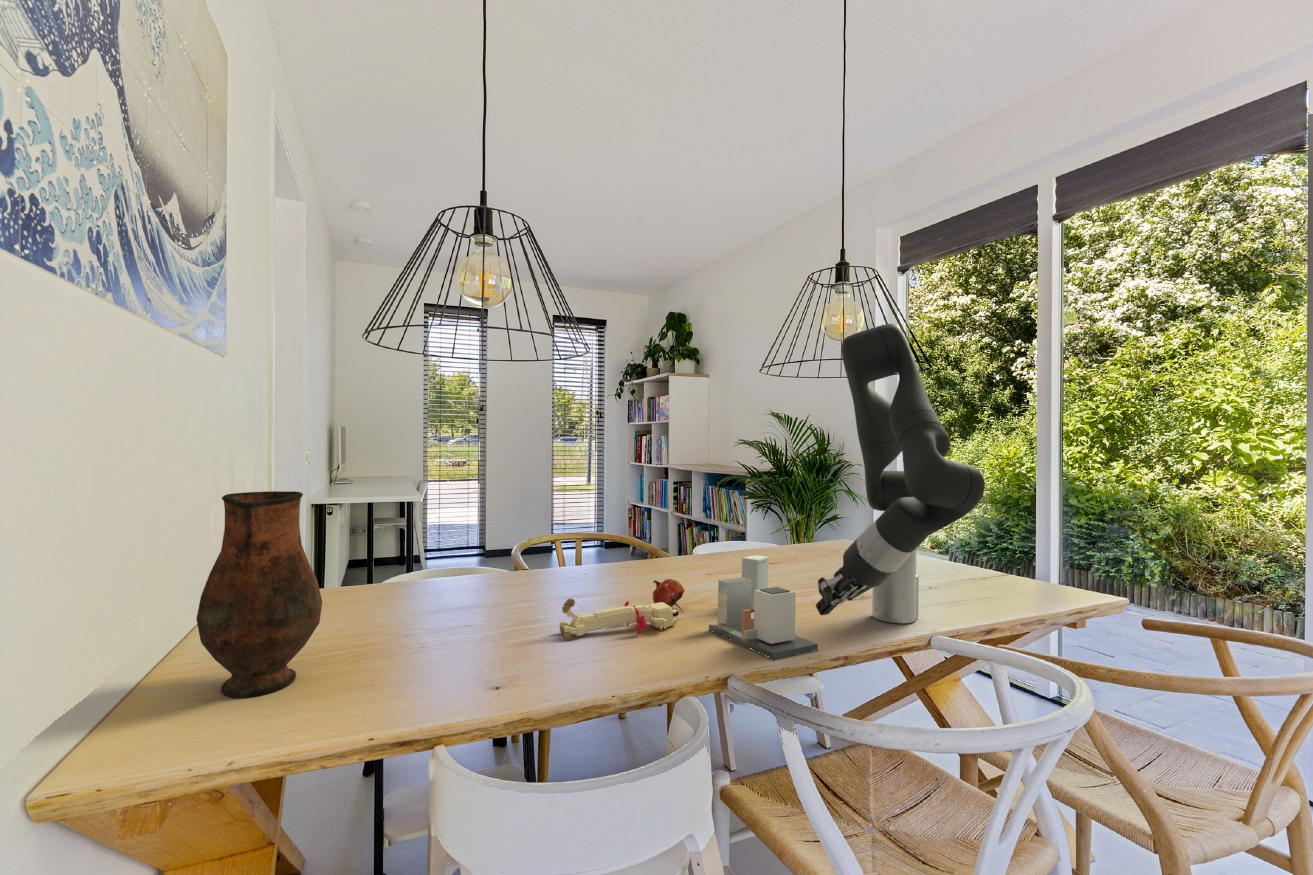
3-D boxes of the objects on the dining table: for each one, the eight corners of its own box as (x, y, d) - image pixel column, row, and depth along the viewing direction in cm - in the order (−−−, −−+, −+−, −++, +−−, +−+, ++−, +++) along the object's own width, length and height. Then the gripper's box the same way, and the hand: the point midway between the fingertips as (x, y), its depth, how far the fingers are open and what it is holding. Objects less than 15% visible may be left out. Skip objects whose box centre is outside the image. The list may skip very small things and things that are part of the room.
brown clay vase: (171, 711, 88) (176, 498, 88) (232, 660, 109) (236, 487, 109) (302, 700, 92) (306, 497, 92) (337, 653, 113) (340, 487, 113)
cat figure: (569, 651, 120) (688, 628, 129) (566, 606, 120) (685, 586, 129) (558, 636, 129) (669, 616, 138) (555, 594, 129) (667, 576, 138)
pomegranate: (686, 617, 148) (660, 586, 153) (700, 596, 145) (672, 565, 150) (666, 626, 143) (639, 594, 148) (679, 605, 139) (651, 573, 144)
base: (750, 623, 136) (750, 576, 136) (817, 650, 118) (818, 596, 118) (708, 630, 130) (709, 581, 130) (773, 659, 113) (773, 602, 113)
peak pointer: (747, 634, 122) (748, 609, 122) (750, 636, 121) (750, 610, 121) (742, 635, 121) (742, 610, 121) (744, 637, 121) (745, 611, 121)
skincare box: (756, 611, 145) (757, 560, 145) (740, 608, 148) (741, 557, 148) (768, 606, 150) (769, 556, 150) (753, 603, 153) (753, 554, 153)
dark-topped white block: (777, 632, 124) (777, 585, 124) (795, 639, 120) (795, 590, 120) (743, 638, 120) (744, 590, 120) (760, 645, 116) (761, 595, 116)
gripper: (892, 530, 106) (836, 588, 116) (836, 535, 99) (782, 596, 109) (919, 567, 101) (858, 624, 112) (863, 575, 94) (803, 634, 105)
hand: (820, 610), depth 111 cm, fingers closed
